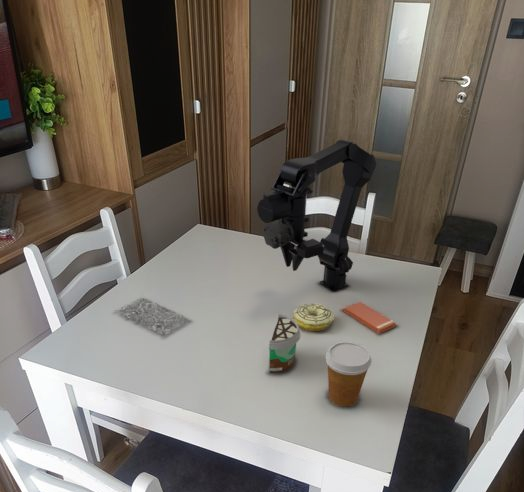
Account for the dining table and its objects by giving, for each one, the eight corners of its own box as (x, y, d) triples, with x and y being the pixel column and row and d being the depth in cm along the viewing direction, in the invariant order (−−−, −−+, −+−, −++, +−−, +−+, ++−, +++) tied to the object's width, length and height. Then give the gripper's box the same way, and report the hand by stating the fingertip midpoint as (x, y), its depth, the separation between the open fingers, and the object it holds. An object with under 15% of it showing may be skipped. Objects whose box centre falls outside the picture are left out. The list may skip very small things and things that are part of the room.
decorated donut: (340, 322, 132) (341, 310, 130) (316, 338, 125) (317, 326, 123) (310, 308, 138) (311, 296, 136) (285, 323, 131) (286, 311, 129)
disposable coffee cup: (317, 384, 110) (322, 341, 103) (358, 382, 111) (365, 339, 104) (325, 413, 102) (330, 368, 96) (370, 411, 103) (378, 366, 96)
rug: (142, 298, 141) (141, 295, 141) (190, 321, 131) (190, 318, 131) (114, 312, 135) (114, 309, 134) (163, 337, 125) (163, 334, 124)
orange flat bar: (342, 311, 137) (343, 306, 136) (359, 304, 140) (359, 300, 139) (379, 334, 127) (379, 329, 126) (395, 326, 130) (396, 322, 130)
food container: (294, 380, 111) (296, 345, 106) (268, 377, 112) (269, 341, 107) (301, 349, 121) (304, 315, 116) (277, 346, 122) (278, 312, 117)
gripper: (247, 208, 125) (247, 263, 134) (291, 231, 113) (289, 290, 122) (281, 200, 131) (280, 253, 140) (327, 222, 118) (322, 278, 127)
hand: (291, 268), depth 132 cm, fingers open, 3 cm apart
